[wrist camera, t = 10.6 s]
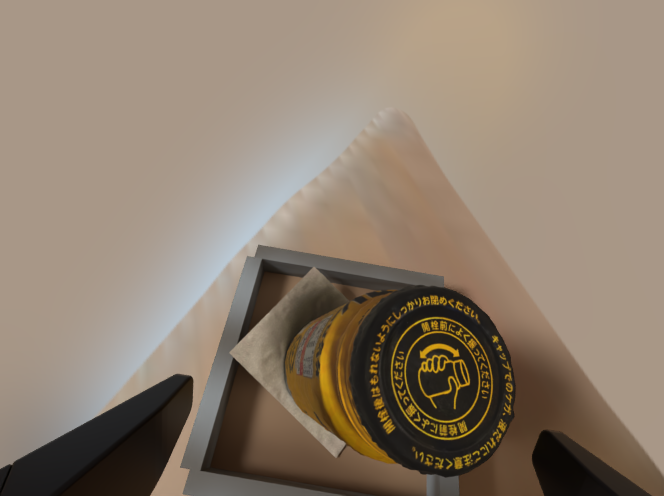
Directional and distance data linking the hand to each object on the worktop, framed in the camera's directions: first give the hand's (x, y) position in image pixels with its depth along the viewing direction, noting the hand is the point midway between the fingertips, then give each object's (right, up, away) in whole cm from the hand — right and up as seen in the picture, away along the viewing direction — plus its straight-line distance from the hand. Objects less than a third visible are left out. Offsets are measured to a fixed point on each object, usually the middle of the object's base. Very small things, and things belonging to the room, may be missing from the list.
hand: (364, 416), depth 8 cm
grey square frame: (-1, -4, +13) cm, 14 cm away
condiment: (-1, -2, +12) cm, 12 cm away
